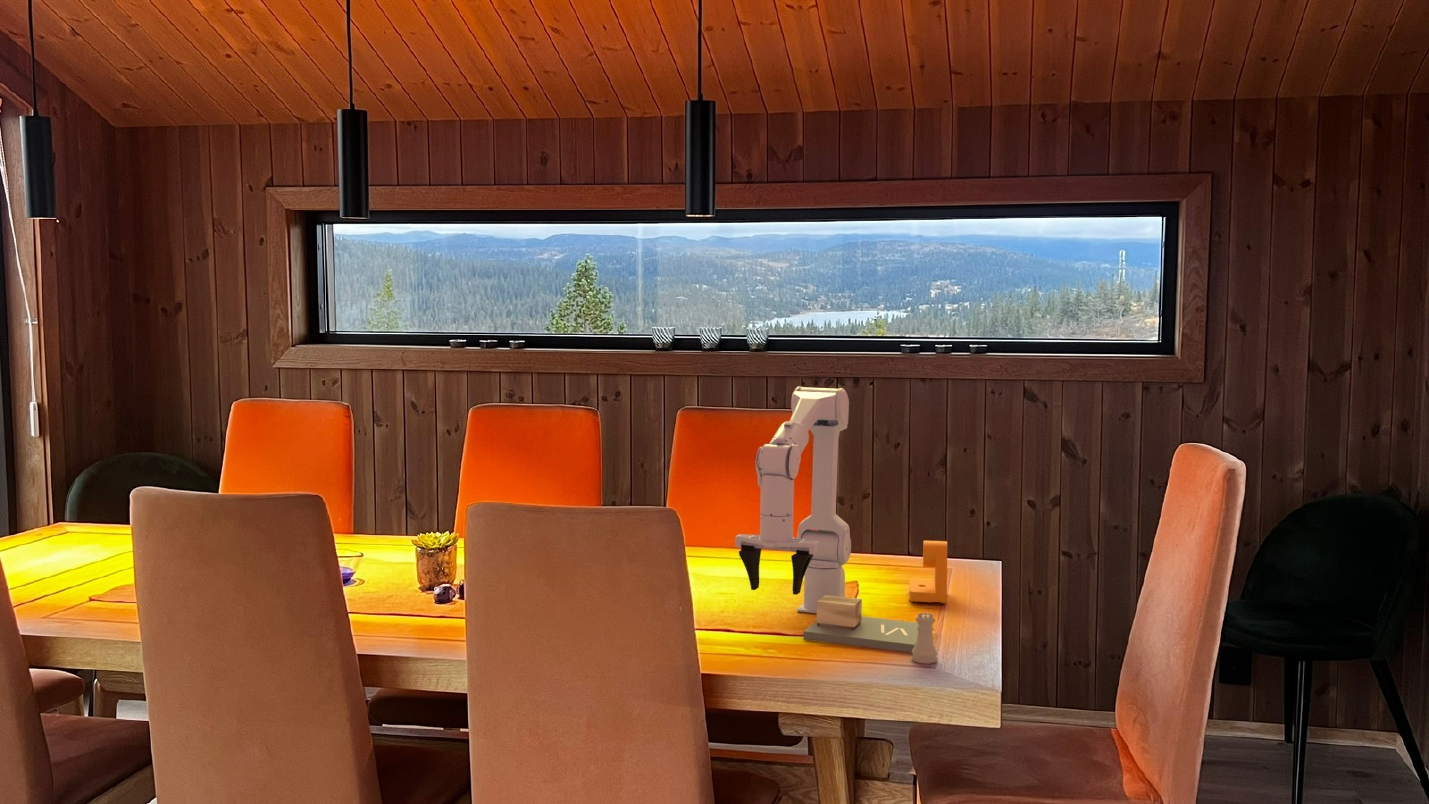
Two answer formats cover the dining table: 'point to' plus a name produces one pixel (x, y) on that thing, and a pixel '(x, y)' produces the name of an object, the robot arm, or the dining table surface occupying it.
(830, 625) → the block
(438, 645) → the dining table surface
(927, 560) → the bracket
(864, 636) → the board
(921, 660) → the rook chess piece
